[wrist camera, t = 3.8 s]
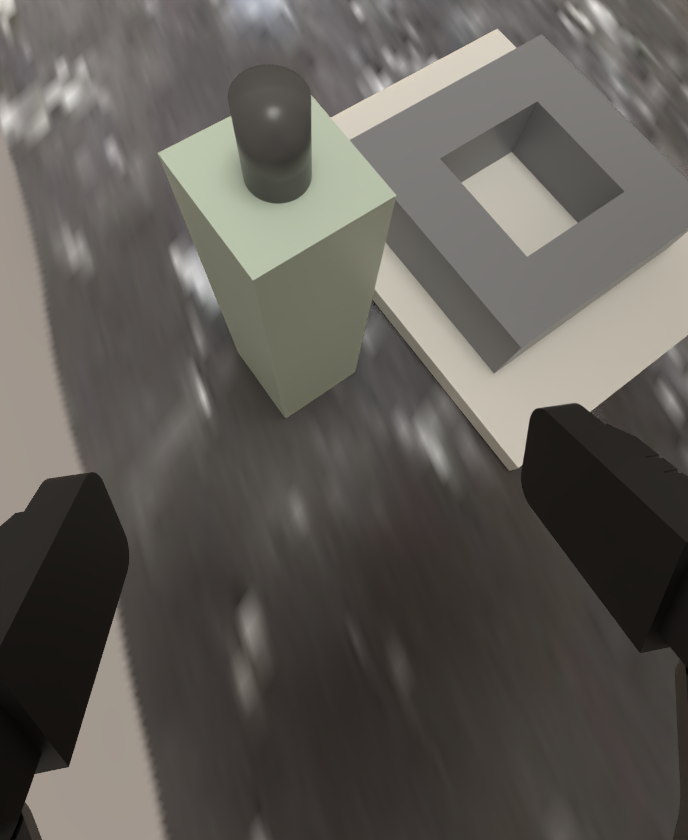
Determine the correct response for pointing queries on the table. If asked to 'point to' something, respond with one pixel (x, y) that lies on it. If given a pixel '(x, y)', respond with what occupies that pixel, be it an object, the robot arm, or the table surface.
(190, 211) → the plug
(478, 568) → the table surface
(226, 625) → the table surface
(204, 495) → the table surface
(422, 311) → the plate
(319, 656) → the table surface
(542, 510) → the robot arm
